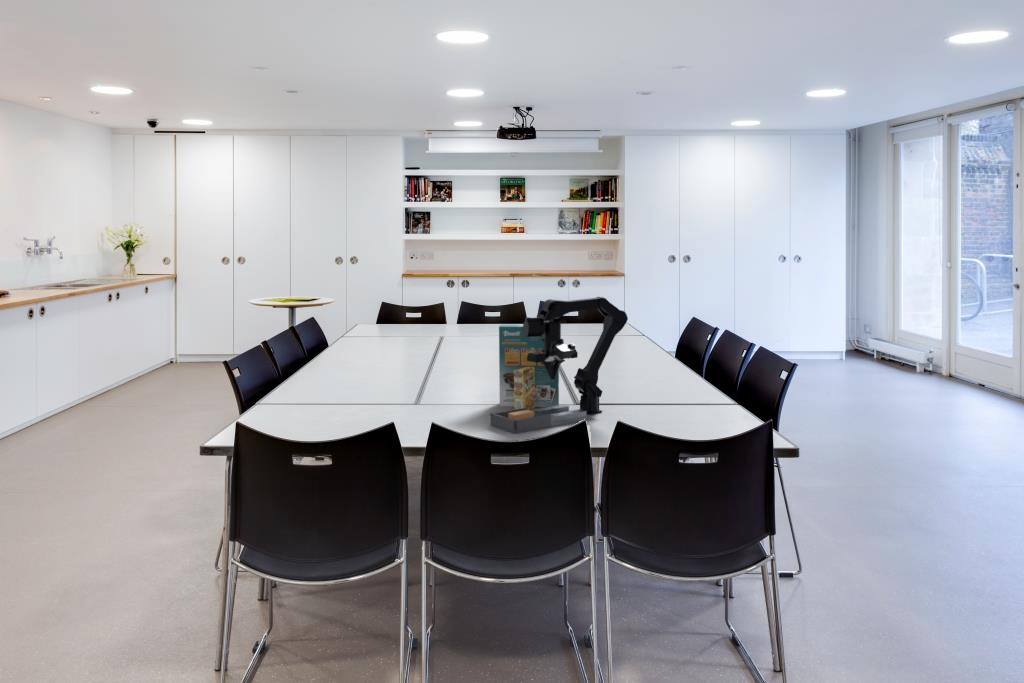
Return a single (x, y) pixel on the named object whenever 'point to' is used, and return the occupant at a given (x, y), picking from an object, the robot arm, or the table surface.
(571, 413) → the slot board
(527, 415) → the chip
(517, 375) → the candy box
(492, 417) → the tray
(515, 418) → the tan cube
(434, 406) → the table surface
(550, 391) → the teal product box
